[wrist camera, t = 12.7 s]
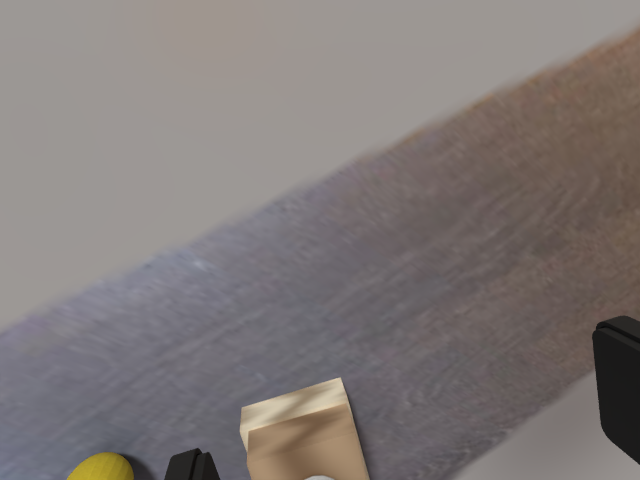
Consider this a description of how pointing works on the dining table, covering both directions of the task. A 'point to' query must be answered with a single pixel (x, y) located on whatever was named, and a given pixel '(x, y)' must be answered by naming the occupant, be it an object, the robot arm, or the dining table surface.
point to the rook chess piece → (319, 477)
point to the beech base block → (295, 408)
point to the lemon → (103, 468)
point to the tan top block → (307, 448)
